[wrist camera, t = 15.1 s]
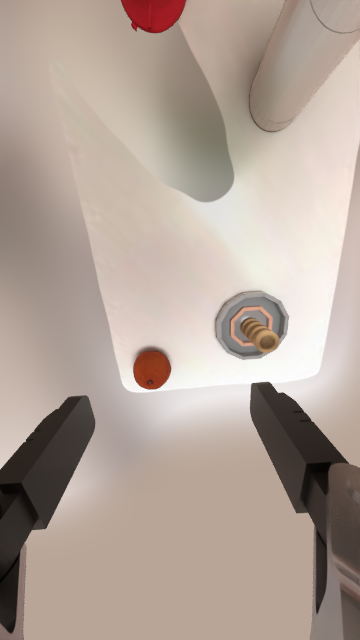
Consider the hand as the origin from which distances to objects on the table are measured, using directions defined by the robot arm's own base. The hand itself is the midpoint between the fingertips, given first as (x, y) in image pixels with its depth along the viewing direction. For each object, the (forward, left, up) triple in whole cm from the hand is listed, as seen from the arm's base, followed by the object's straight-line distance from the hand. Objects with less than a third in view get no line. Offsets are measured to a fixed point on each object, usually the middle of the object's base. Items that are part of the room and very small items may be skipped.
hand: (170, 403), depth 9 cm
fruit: (+17, -7, -33) cm, 38 cm away
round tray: (+9, +17, -33) cm, 38 cm away
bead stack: (+9, +17, -32) cm, 38 cm away
